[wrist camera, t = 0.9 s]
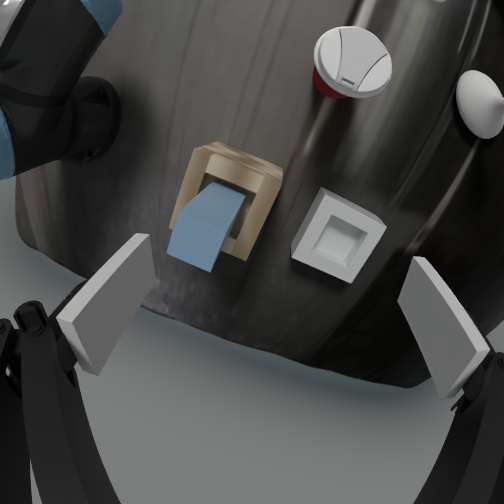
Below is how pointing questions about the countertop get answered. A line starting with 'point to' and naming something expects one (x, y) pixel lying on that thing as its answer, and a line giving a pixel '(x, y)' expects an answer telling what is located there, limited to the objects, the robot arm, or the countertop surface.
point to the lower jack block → (336, 236)
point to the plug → (206, 224)
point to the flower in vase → (480, 104)
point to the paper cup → (350, 63)
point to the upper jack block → (240, 176)
